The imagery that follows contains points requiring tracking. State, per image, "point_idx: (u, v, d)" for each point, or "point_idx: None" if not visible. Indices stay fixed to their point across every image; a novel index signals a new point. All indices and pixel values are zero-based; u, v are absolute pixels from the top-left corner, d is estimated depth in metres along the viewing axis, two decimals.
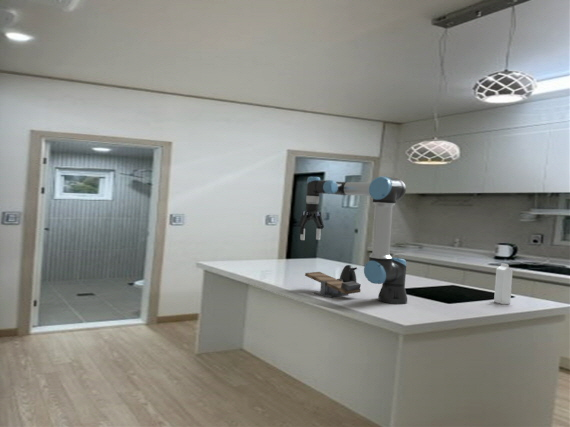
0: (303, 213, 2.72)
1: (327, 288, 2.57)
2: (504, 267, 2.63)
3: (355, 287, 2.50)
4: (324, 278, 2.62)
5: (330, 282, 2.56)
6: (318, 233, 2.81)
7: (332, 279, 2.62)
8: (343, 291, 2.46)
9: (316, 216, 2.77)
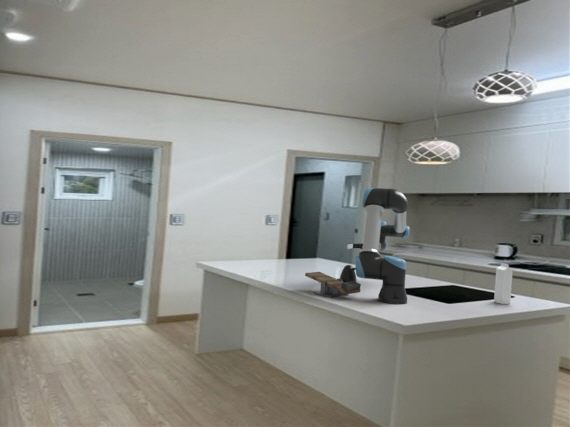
0: None
1: (327, 288, 2.57)
2: (504, 267, 2.63)
3: (355, 287, 2.50)
4: (324, 278, 2.62)
5: (330, 282, 2.56)
6: None
7: (332, 279, 2.62)
8: (343, 291, 2.46)
9: None
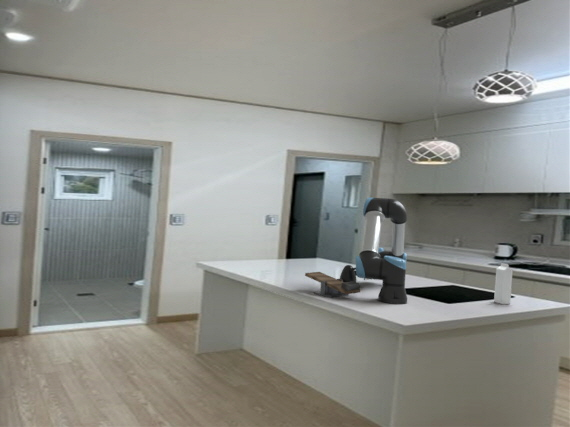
0: None
1: (327, 288, 2.57)
2: (504, 267, 2.63)
3: (355, 287, 2.50)
4: (324, 278, 2.62)
5: (330, 282, 2.56)
6: None
7: (332, 279, 2.62)
8: (343, 291, 2.46)
9: None
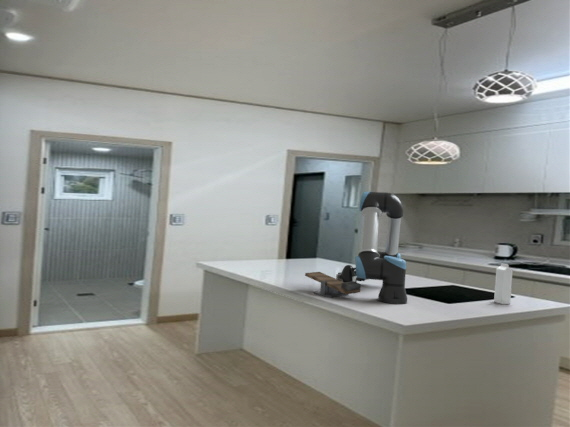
0: None
1: (327, 288, 2.57)
2: (504, 267, 2.63)
3: (355, 287, 2.50)
4: (324, 278, 2.62)
5: (330, 282, 2.56)
6: None
7: (332, 279, 2.62)
8: (343, 291, 2.46)
9: None
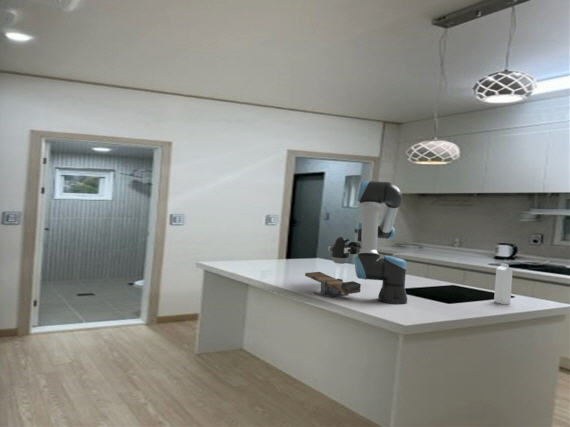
0: None
1: (327, 288, 2.57)
2: (504, 267, 2.63)
3: (355, 287, 2.50)
4: (324, 278, 2.62)
5: (330, 282, 2.56)
6: None
7: (332, 279, 2.62)
8: (343, 291, 2.46)
9: (352, 245, 2.79)
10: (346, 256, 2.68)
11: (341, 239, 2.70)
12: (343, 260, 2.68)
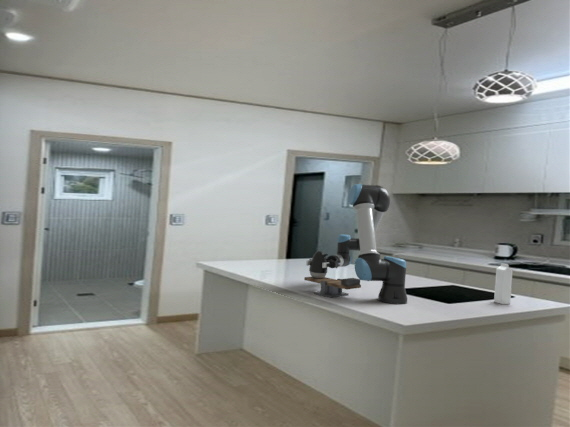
0: None
1: (327, 288, 2.57)
2: (504, 267, 2.63)
3: (355, 282, 2.50)
4: (323, 279, 2.62)
5: (330, 281, 2.56)
6: None
7: (332, 280, 2.62)
8: (343, 287, 2.46)
9: (331, 259, 2.74)
10: (324, 271, 2.63)
11: (319, 253, 2.64)
12: (321, 275, 2.63)
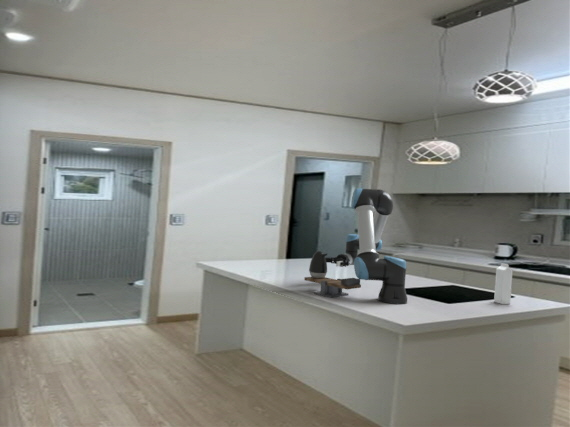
0: None
1: (327, 288, 2.57)
2: (504, 267, 2.63)
3: (355, 282, 2.50)
4: (323, 279, 2.62)
5: (330, 281, 2.56)
6: None
7: (332, 280, 2.62)
8: (343, 287, 2.46)
9: (341, 258, 2.83)
10: (324, 271, 2.63)
11: (319, 253, 2.64)
12: (321, 275, 2.63)
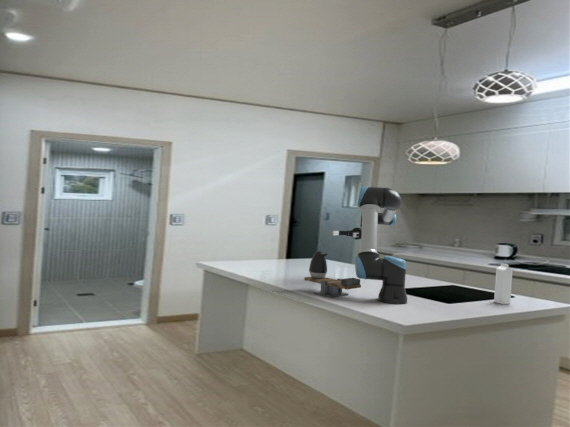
0: None
1: (327, 288, 2.57)
2: (504, 267, 2.63)
3: (355, 282, 2.50)
4: (323, 279, 2.62)
5: (330, 281, 2.56)
6: None
7: (332, 280, 2.62)
8: (343, 287, 2.46)
9: (357, 231, 2.92)
10: (324, 271, 2.63)
11: (319, 253, 2.64)
12: (321, 275, 2.63)
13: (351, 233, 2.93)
